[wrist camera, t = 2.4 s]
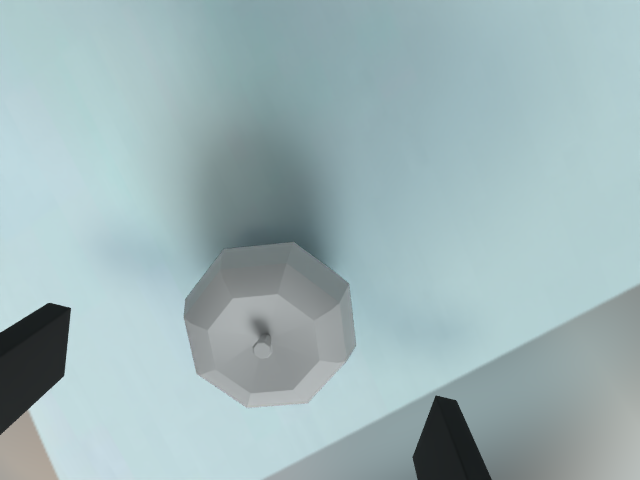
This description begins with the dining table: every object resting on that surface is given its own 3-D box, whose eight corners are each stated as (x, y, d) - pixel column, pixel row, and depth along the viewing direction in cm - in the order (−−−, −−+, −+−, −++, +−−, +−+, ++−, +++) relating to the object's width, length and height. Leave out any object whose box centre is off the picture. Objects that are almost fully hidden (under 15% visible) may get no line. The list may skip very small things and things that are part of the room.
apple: (197, 330, 24) (147, 406, 18) (226, 199, 22) (181, 231, 15) (333, 367, 24) (331, 454, 18) (374, 240, 22) (389, 288, 16)
